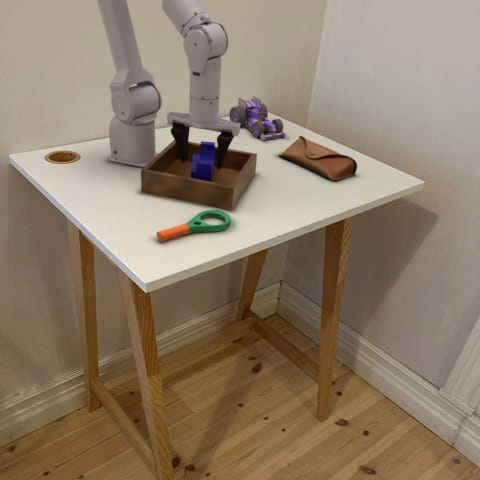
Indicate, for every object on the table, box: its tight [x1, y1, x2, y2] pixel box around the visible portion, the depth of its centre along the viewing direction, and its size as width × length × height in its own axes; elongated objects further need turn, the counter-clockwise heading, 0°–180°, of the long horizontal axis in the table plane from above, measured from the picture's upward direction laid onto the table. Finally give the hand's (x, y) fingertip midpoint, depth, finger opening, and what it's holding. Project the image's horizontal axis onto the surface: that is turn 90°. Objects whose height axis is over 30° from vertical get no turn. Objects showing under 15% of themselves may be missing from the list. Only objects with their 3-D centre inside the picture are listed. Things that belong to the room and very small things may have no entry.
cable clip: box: [191, 140, 216, 182], centre depth 107 cm, size 12×4×6 cm, turn 179°
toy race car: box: [228, 95, 286, 142], centre depth 135 cm, size 10×15×6 cm, turn 33°
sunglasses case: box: [278, 135, 358, 181], centre depth 121 cm, size 18×7×7 cm, turn 44°
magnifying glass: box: [155, 209, 231, 242], centre depth 93 cm, size 15×6×2 cm, turn 131°
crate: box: [140, 139, 258, 211], centre depth 108 cm, size 19×19×5 cm
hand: (202, 164), depth 107 cm, fingers open, 7 cm apart
